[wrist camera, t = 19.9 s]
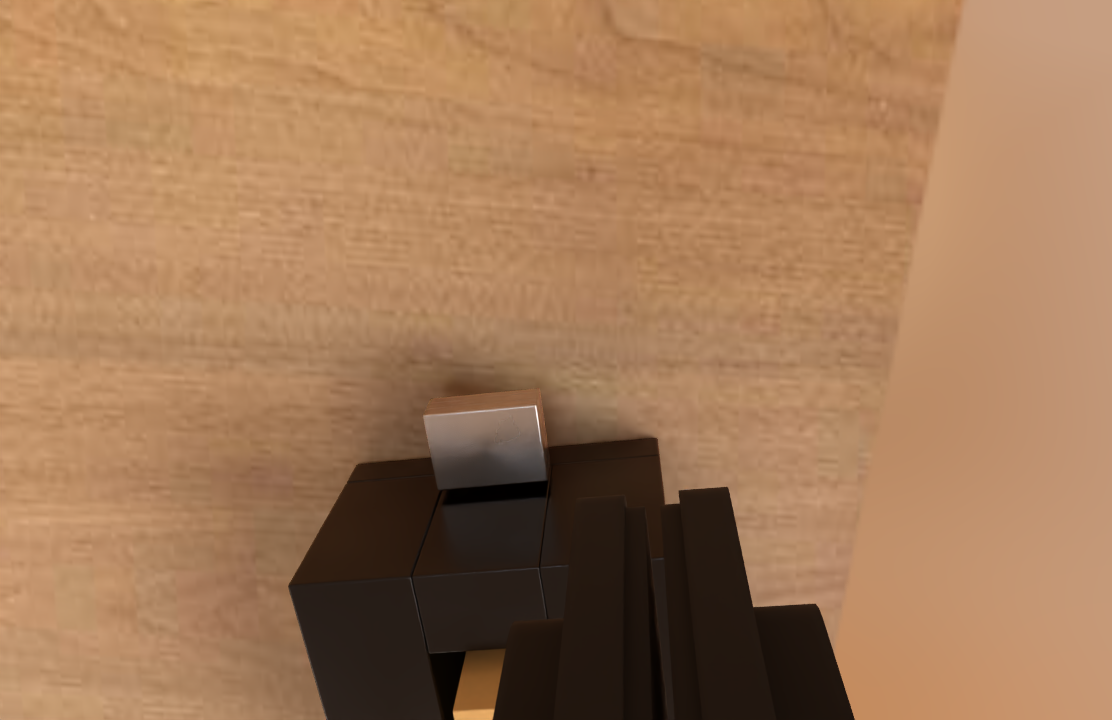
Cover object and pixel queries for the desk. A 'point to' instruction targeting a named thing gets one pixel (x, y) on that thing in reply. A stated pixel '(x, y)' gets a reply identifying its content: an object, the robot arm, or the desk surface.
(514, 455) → the lever
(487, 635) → the toaster
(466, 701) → the toast
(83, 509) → the desk surface
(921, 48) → the desk surface
